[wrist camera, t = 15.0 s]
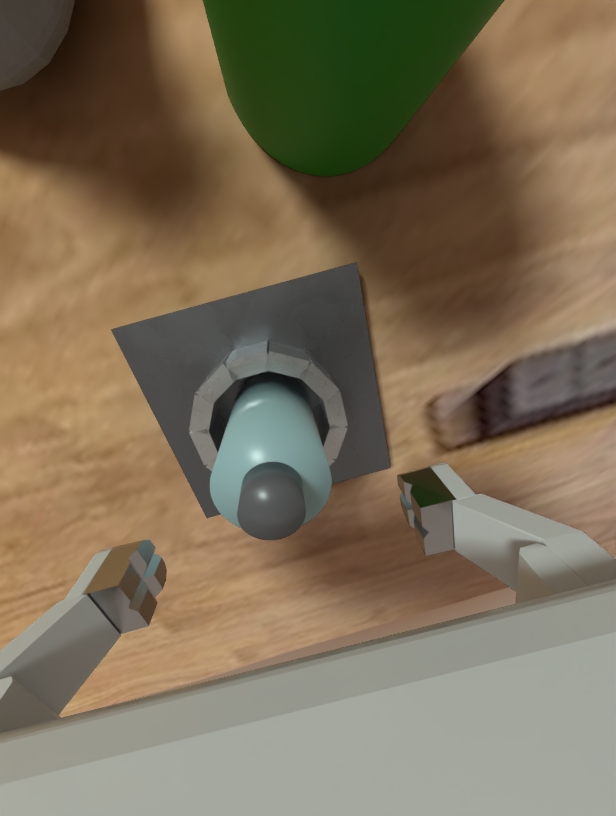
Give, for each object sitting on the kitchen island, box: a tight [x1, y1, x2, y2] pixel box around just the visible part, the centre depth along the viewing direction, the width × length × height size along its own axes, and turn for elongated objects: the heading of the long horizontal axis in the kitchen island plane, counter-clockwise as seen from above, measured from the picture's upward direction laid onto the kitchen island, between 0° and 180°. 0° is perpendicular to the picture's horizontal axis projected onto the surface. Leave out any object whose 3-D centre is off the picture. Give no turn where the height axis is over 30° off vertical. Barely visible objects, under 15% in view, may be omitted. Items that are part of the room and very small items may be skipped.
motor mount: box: [111, 262, 391, 518], centre depth 18 cm, size 14×14×4 cm
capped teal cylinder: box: [210, 373, 332, 540], centre depth 15 cm, size 5×5×10 cm
